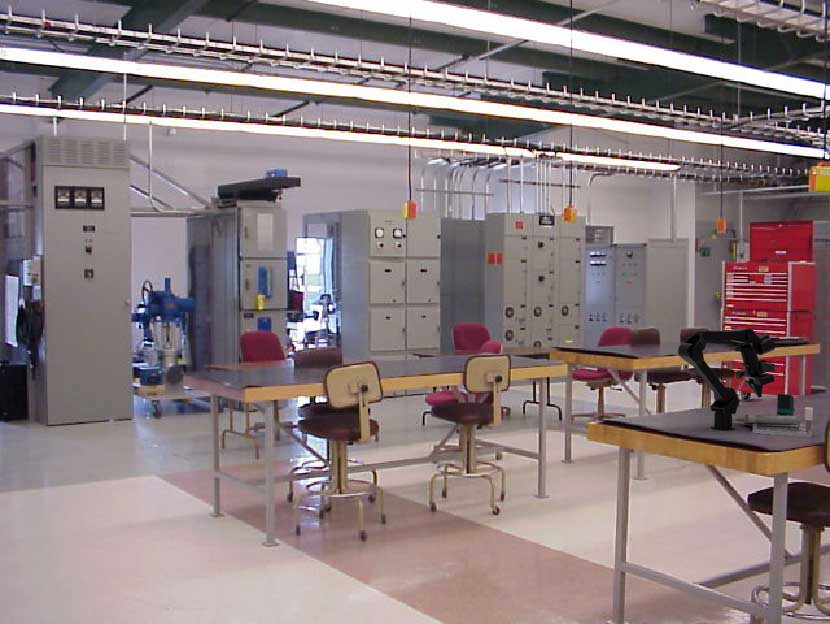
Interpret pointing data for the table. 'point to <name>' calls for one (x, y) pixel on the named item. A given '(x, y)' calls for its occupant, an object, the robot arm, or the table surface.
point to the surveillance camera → (785, 405)
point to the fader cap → (808, 417)
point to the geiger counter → (769, 420)
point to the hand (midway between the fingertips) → (759, 397)
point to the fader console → (782, 431)
